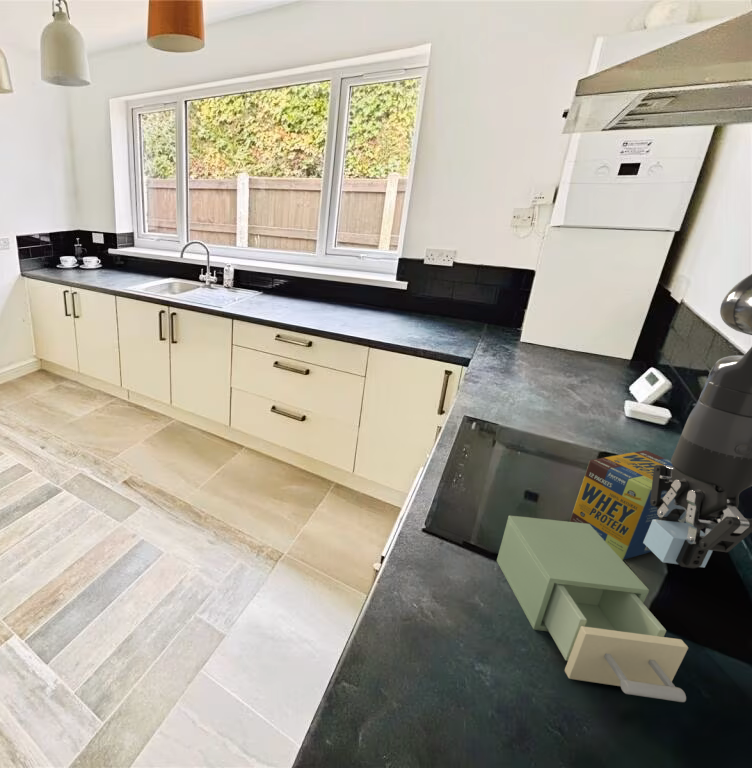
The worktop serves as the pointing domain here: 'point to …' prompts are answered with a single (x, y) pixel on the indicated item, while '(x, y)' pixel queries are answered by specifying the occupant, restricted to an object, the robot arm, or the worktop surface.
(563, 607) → the drawer
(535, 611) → the cabinet
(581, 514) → the protein box
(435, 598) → the worktop surface
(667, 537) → the block
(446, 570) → the worktop surface
